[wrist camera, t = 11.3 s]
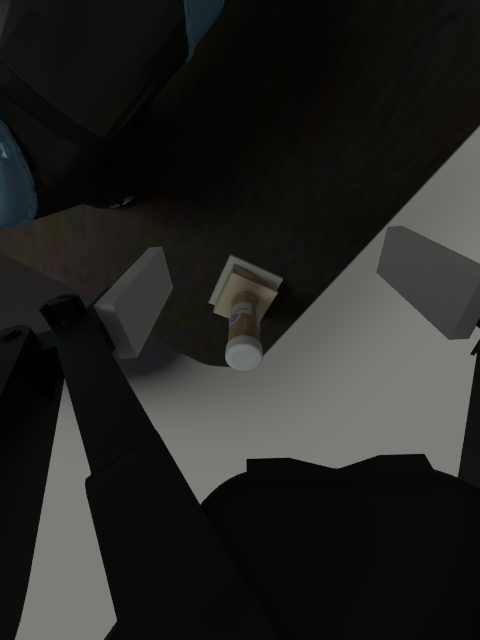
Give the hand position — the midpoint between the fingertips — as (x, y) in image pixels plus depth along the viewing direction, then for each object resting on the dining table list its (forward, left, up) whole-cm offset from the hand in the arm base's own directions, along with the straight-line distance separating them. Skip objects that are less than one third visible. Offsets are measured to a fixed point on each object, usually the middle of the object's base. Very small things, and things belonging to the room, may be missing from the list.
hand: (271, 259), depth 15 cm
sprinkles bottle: (+5, -14, -21) cm, 26 cm away
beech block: (+5, -14, -25) cm, 29 cm away
